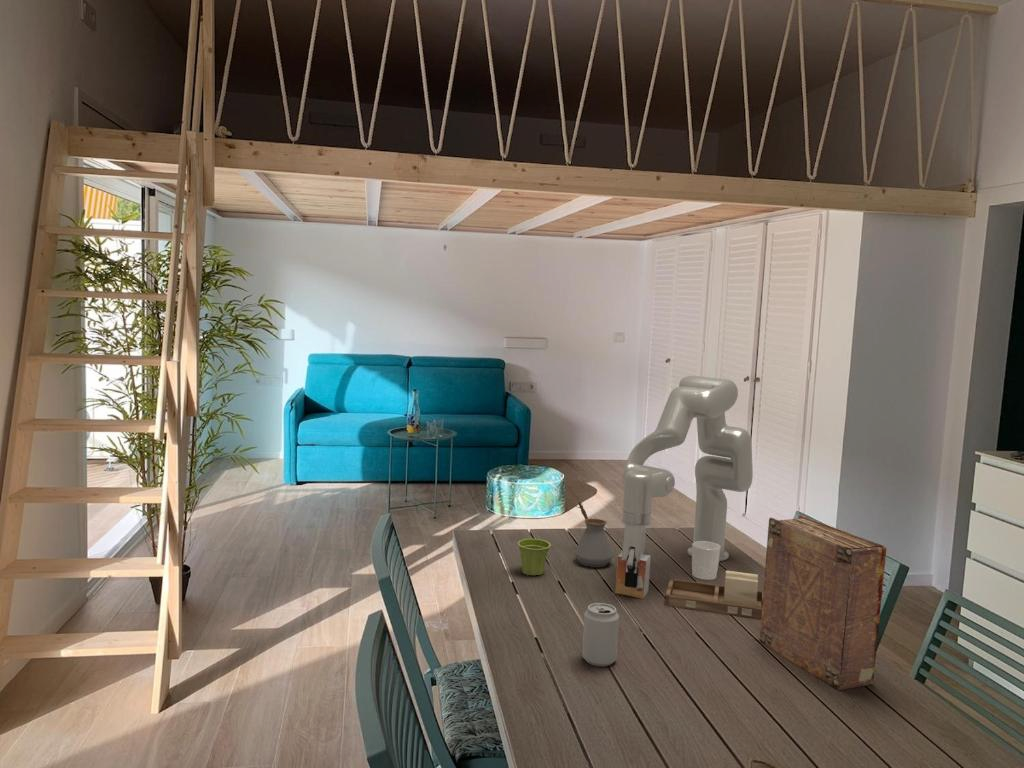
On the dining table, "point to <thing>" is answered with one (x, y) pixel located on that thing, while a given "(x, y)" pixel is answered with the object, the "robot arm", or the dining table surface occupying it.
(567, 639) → the dining table surface
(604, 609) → the can
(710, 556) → the white cup
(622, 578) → the small box
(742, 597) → the beech block
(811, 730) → the dining table surface
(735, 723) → the dining table surface
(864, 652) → the book
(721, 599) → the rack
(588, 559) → the coffee pot
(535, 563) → the plant pot
